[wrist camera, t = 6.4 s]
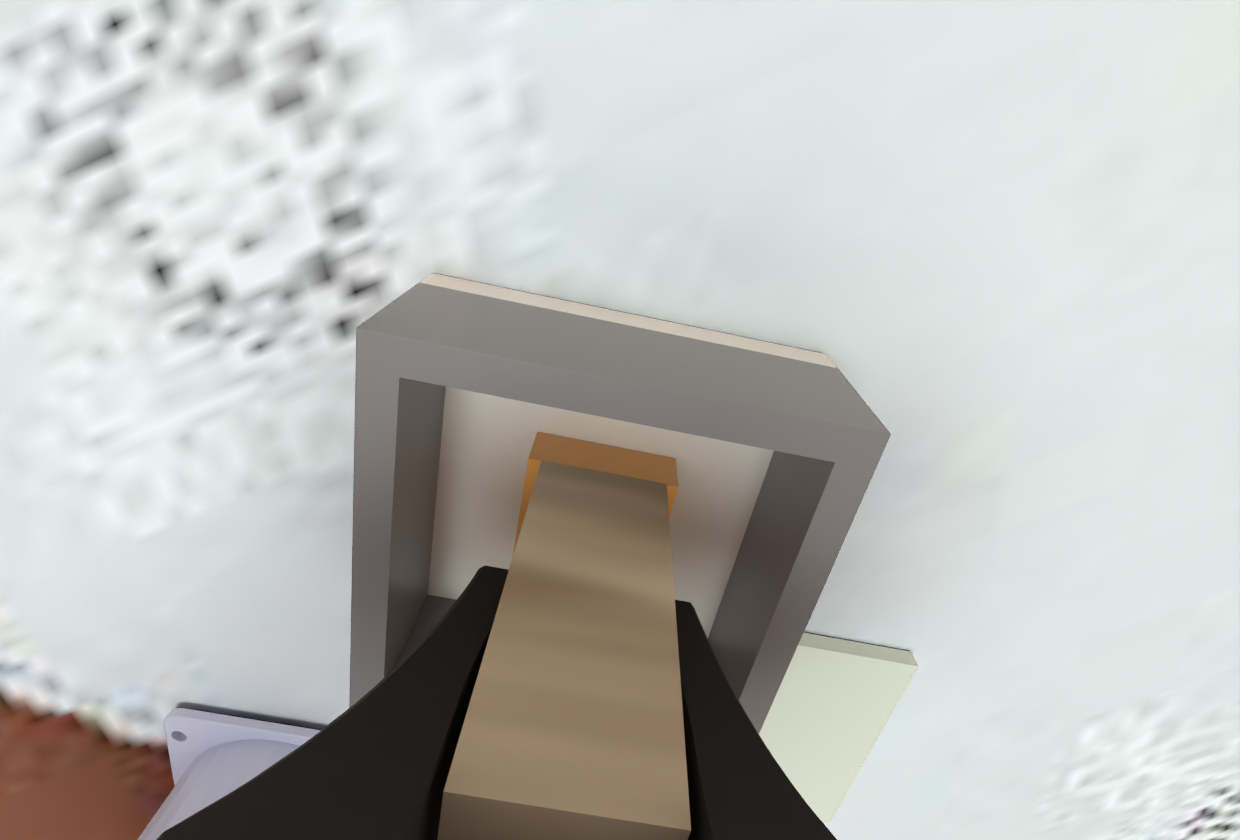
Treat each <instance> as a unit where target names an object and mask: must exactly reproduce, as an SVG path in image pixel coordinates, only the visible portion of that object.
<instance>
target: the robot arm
mask: <svg viewBox="0 0 1240 840" xmlns="http://www.w3.org/2000/svg"><path fill="white" fill-rule="evenodd" d="M508 571H509V570H508V569H502V568H497V567H491V566H486V565H485V566H483V567H481V568H479V569H478V571H477V572H476V574H475V575H474V577H473V578H472V580H471V581H470V583H469V584H468V586H467V587H466V588H465V590H464V591H463V592H462V594H461V595H460V596H459V598H458V599H457V600H456V601H455V603H454V604H453V605H452V606H451V608H450V609H449V610H448V611H447V613H446V614H445V615H444V616H443V617H442V618H441V619H440V621H439V622H438V623H437V624H436V625H435V626H434V627H433V629H432V630H431V631H430V632H429V633H428V634H427V635H426V636H425V638H424V639H423V640H422V641H421V642H420V643H419V644H418V645H417V646H416V647H415V648H414V649H413V650H412V651H411V652H410V653H409V654H408V655H407V656H406V657H405V658H404V659H403V660H402V661H401V662H400V663H399V664H398V665H397V666H396V667H395V668H394V669H393V670H392V671H391V672H390V673H389V674H388V675H387V676H386V677H385V678H383V679H382V680H381V681H380V682H379V683H378V684H377V685H376V686H375V687H374V688H372V689H371V690H370V691H369V692H368V693H367V694H366V695H364V696H363V697H362V698H361V699H360V700H359V701H357V702H356V703H355V704H354V705H353V706H352V707H350V708H349V709H348V710H347V711H345V712H344V713H343V714H342V715H340V716H339V717H338V718H336V719H335V720H334V721H333V722H331V723H330V724H329V725H328V726H326V727H325V728H324V729H323V730H316V729H309V728H303V727H297V726H291V725H285V724H278V723H272V722H266V721H260V720H254V719H247V718H241V717H235V716H229V715H223V714H216V713H210V712H204V711H198V710H192V709H185V708H177V709H173V710H172V711H171V712H170V713H169V714H168V716H167V717H166V718H165V719H164V727H165V733H166V739H167V745H168V751H169V757H170V763H171V769H172V775H173V780H174V786H175V787H174V788H173V790H172V791H171V792H170V794H169V795H168V797H167V798H166V799H165V801H164V802H163V804H162V805H161V807H160V808H159V809H158V811H157V812H156V814H155V815H154V817H153V818H152V819H151V821H150V822H149V824H148V825H147V827H146V828H145V829H144V831H143V832H142V834H141V835H140V836H139V838H138V839H137V840H437V839H438V831H439V823H440V815H441V806H442V798H443V791H444V788H445V784H446V781H447V777H448V774H449V771H450V767H451V764H452V761H453V757H454V754H455V750H456V747H457V744H458V740H459V737H460V734H461V730H462V727H463V723H464V720H465V717H466V713H467V710H468V706H469V703H470V700H471V696H472V693H473V690H474V686H475V683H476V679H477V676H478V673H479V669H480V666H481V663H482V659H483V656H484V652H485V649H486V646H487V642H488V639H489V636H490V632H491V629H492V625H493V622H494V619H495V615H496V612H497V609H498V605H499V602H500V598H501V595H502V592H503V588H504V585H505V582H506V578H507V575H508ZM675 609H676V623H677V637H678V651H679V665H680V679H681V693H682V707H683V722H684V736H685V750H686V764H687V778H688V792H689V806H690V820H691V832H690V835H689V837H688V840H837V839H836V838H835V837H834V836H833V835H832V833H831V832H830V831H829V830H828V828H827V827H826V826H825V825H824V824H823V822H822V821H821V820H820V819H819V818H818V816H817V815H816V814H815V813H814V811H813V810H812V809H811V808H810V807H809V805H808V804H807V803H806V802H805V800H804V799H803V798H802V796H801V795H800V794H799V792H798V791H797V790H796V788H795V787H794V786H793V784H792V783H791V781H790V780H789V779H788V777H787V776H786V774H785V773H784V771H783V770H782V769H781V767H780V766H779V764H778V763H777V761H776V760H775V759H774V757H773V756H772V754H771V753H770V751H769V749H768V748H767V746H766V745H765V743H764V742H763V740H762V739H761V737H760V735H759V734H758V732H757V730H756V729H755V727H754V725H753V724H752V722H751V720H750V719H749V717H748V715H747V714H746V712H745V710H744V709H743V707H742V705H741V703H740V701H739V700H738V698H737V696H736V694H735V692H734V690H733V689H732V687H731V685H730V683H729V681H728V679H727V677H726V675H725V673H724V671H723V670H722V668H721V666H720V664H719V662H718V660H717V657H716V655H715V653H714V651H713V649H712V647H711V645H710V643H709V641H708V638H707V636H706V634H705V632H704V630H703V627H702V625H701V623H700V620H699V618H698V616H697V613H696V611H695V608H694V607H693V605H692V604H691V602H686V601H680V600H675Z"/></svg>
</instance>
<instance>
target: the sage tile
mask: <svg viewBox="0 0 1240 840" xmlns="http://www.w3.org/2000/svg"><path fill="white" fill-rule="evenodd" d="M917 668H918V665H917V663H916V661H915V659H914V657H913V655H912V653H911V652H910V651H904V650H899V649H893V648H888V647H882V646H876V645H871V644H865V643H860V642H854V641H848V640H843V639H837V638H832V637H826V636H820V635H815V634H809V633H803V635H802V637H801V640H800V642H799V644H798V646H797V649H796V651H795V653H794V655H793V658H792V660H791V662H790V665H789V667H788V669H787V671H786V674H785V676H784V678H783V680H782V683H781V685H780V687H779V690H778V692H777V694H776V696H775V699H774V701H773V703H772V706H771V708H770V710H769V712H768V715H767V717H766V719H765V721H764V724H763V726H762V728H761V731H760V733H759V735H760V737H761V739H762V740H763V742H764V743H765V745H766V746H767V748H768V749H769V751H770V753H771V754H772V756H773V757H774V759H775V760H776V761H777V763H778V764H779V766H780V767H781V769H782V770H783V771H784V773H785V774H786V776H787V777H788V779H789V780H790V781H791V783H792V784H793V786H794V787H795V788H796V790H797V791H798V792H799V794H800V795H801V796H802V798H803V799H804V800H805V802H806V803H807V804H808V805H809V807H810V808H811V809H812V810H813V811H814V813H815V814H816V815H817V816H818V818H819V819H820V820H821V821H827V822H831V820H832V819H833V817H834V815H835V813H836V811H837V810H838V808H839V806H840V804H841V803H842V801H843V799H844V797H845V796H846V794H847V792H848V790H849V788H850V787H851V785H852V783H853V781H854V780H855V778H856V776H857V774H858V772H859V771H860V769H861V767H862V765H863V764H864V762H865V760H866V758H867V757H868V755H869V753H870V751H871V749H872V748H873V746H874V744H875V742H876V741H877V739H878V737H879V735H880V733H881V732H882V730H883V728H884V726H885V725H886V723H887V721H888V719H889V718H890V716H891V714H892V712H893V710H894V709H895V707H896V705H897V703H898V702H899V700H900V698H901V696H902V694H903V693H904V691H905V689H906V687H907V686H908V684H909V682H910V680H911V679H912V677H913V675H914V673H915V671H916V670H917Z"/></svg>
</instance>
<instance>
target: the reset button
mask: <svg viewBox="0 0 1240 840" xmlns="http://www.w3.org/2000/svg"><path fill="white" fill-rule="evenodd" d="M541 460H544V461H549V462H554V463H560V464H565V465H570V466H575V467H581V468H586V469H591V470H596V471H601V472H607V473H612V474H617V475H622V476H628V477H633V478H638V479H643V480H649V481H654V482H659V483H664V484H667V496H668V510H669V519H670V515H671V512H672V508H673V505H674V501H675V498H676V494H677V490H678V478H677V468H676V459H675V458H671V457H665V456H660V455H655V454H650V453H645V452H640V451H634V450H629V449H624V448H619V447H614V446H608V445H603V444H598V443H593V442H588V441H583V440H577V439H572V438H567V437H562V436H557V435H551V434H546V433H541V432H537V434H536V437H535V440H534V443H533V446H532V449H531V452H530V455H529V458H528V463H527V470H526V476H525V482H524V489H523V495H522V501H521V508H520V514H519V520H518V527H517V533H516V539H515V546H514V551H515V548H516V544H517V541H518V538H519V534H520V531H521V528H522V524H523V521H524V517H525V514H526V511H527V507H528V504H529V501H530V497H531V494H532V490H533V487H534V484H535V480H536V477H537V473H538V470H539V467H540V463H541ZM513 555H514V552H513Z"/></svg>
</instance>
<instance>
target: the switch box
mask: <svg viewBox="0 0 1240 840" xmlns="http://www.w3.org/2000/svg"><path fill="white" fill-rule="evenodd" d="M537 432H541V433H546V434H551V435H557V436H562V437H567V438H572V439H577V440H583V441H588V442H593V443H598V444H603V445H608V446H614V447H619V448H624V449H629V450H634V451H640V452H645V453H650V454H655V455H660V456H665V457H671V458H675V459H676V468H677V478H678V490H677V494H676V498H675V501H674V505H673V508H672V512H671V515H670V519H669V524H670V538H671V552H672V566H673V580H674V594H675V600H680V601H686V602H691V604H692V605H693V607H694V608H695V611H696V613H697V616H698V618H699V620H700V623H701V625H702V627H703V630H704V632H705V634H706V636H707V638H708V641H709V643H710V645H711V647H712V649H713V651H714V653H715V655H716V657H717V660H718V662H719V664H720V666H721V668H722V670H723V671H724V673H725V675H726V677H727V679H728V681H729V683H730V685H731V687H732V689H733V690H734V692H735V694H736V696H737V698H738V700H739V701H740V703H741V705H742V707H743V709H744V710H745V712H746V714H747V715H748V717H749V719H750V720H751V722H752V724H753V725H754V727H755V729H756V730H757V732H758V734H759V733H760V731H761V728H762V726H763V724H764V721H765V719H766V717H767V715H768V712H769V710H770V708H771V706H772V703H773V701H774V699H775V696H776V694H777V692H778V690H779V687H780V685H781V683H782V680H783V678H784V676H785V674H786V671H787V669H788V667H789V665H790V662H791V660H792V658H793V655H794V653H795V651H796V649H797V646H798V644H799V642H800V640H801V637H802V635H803V633H804V630H805V628H806V626H807V624H808V621H809V619H810V617H811V615H812V612H813V610H814V608H815V605H816V603H817V601H818V599H819V596H820V594H821V592H822V590H823V587H824V585H825V583H826V580H827V578H828V576H829V574H830V571H831V569H832V567H833V564H834V562H835V560H836V558H837V555H838V553H839V551H840V549H841V546H842V544H843V542H844V539H845V537H846V535H847V533H848V530H849V528H850V526H851V524H852V521H853V519H854V517H855V514H856V512H857V510H858V508H859V505H860V503H861V501H862V499H863V496H864V494H865V492H866V489H867V487H868V485H869V483H870V480H871V478H872V476H873V474H874V471H875V469H876V467H877V464H878V462H879V460H880V458H881V455H882V453H883V451H884V448H885V446H886V444H887V442H888V439H889V437H890V435H891V434H890V433H889V431H888V430H887V429H886V428H885V426H884V425H883V424H882V423H881V421H880V420H879V419H878V418H877V416H876V415H875V414H874V413H873V411H872V410H871V409H870V408H869V406H868V405H867V404H866V403H865V402H864V400H863V399H862V398H861V397H860V395H859V394H858V393H857V392H856V390H855V389H854V388H853V387H852V385H851V384H850V383H849V382H848V380H847V379H846V378H845V377H844V375H843V374H842V373H841V372H840V370H839V369H838V368H837V367H836V365H835V364H834V363H833V362H832V361H831V359H830V358H829V357H828V356H827V354H823V353H818V352H813V351H808V350H804V349H799V348H794V347H789V346H784V345H779V344H775V343H770V342H765V341H760V340H755V339H750V338H745V337H741V336H736V335H731V334H726V333H721V332H716V331H711V330H707V329H702V328H697V327H692V326H687V325H682V324H677V323H673V322H668V321H663V320H658V319H653V318H648V317H643V316H639V315H634V314H629V313H624V312H619V311H614V310H609V309H605V308H600V307H595V306H590V305H585V304H580V303H576V302H571V301H566V300H561V299H556V298H551V297H546V296H542V295H537V294H532V293H527V292H522V291H517V290H512V289H508V288H503V287H498V286H493V285H488V284H483V283H478V282H474V281H469V280H464V279H459V278H454V277H449V276H444V275H440V274H435V273H432V274H431V275H429V276H428V277H426V278H425V279H424V280H422V281H421V282H419V283H418V284H417V285H415V286H414V287H412V288H411V289H410V290H408V291H407V292H406V293H404V294H403V295H401V296H400V297H399V298H397V299H396V300H394V301H393V302H392V303H390V304H389V305H387V306H386V307H385V308H383V309H382V310H380V311H379V312H378V313H376V314H375V315H373V316H372V317H371V318H369V319H368V320H366V321H365V322H364V323H362V324H361V325H360V326H358V327H357V331H356V385H355V438H354V492H353V546H352V600H351V654H350V707H352V706H353V705H354V704H355V703H356V702H357V701H359V700H360V699H361V698H362V697H363V696H364V695H366V694H367V693H368V692H369V691H370V690H371V689H372V688H374V687H375V686H376V685H377V684H378V683H379V682H380V681H381V680H382V679H383V678H385V677H386V676H387V675H388V674H389V673H390V672H391V671H392V670H393V669H394V668H395V667H396V666H397V665H398V664H399V663H400V662H401V661H402V660H403V659H404V658H405V657H406V656H407V655H408V654H409V653H410V652H411V651H412V650H413V649H414V648H415V647H416V646H417V645H418V644H419V643H420V642H421V641H422V640H423V639H424V638H425V636H426V635H427V634H428V633H429V632H430V631H431V630H432V629H433V627H434V626H435V625H436V624H437V623H438V622H439V621H440V619H441V618H442V617H443V616H444V615H445V614H446V613H447V611H448V610H449V609H450V608H451V606H452V605H453V604H454V603H455V601H456V600H457V599H458V598H459V596H460V595H461V594H462V592H463V591H464V590H465V588H466V587H467V586H468V584H469V583H470V581H471V580H472V578H473V577H474V575H475V574H476V572H477V571H478V569H479V568H481V567H483V566H485V565H486V566H491V567H497V568H502V569H508V570H509V568H510V565H511V561H512V558H513V552H514V546H515V539H516V533H517V527H518V520H519V514H520V508H521V501H522V495H523V489H524V482H525V476H526V470H527V463H528V458H529V455H530V452H531V449H532V446H533V443H534V440H535V437H536V434H537Z"/></svg>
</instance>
